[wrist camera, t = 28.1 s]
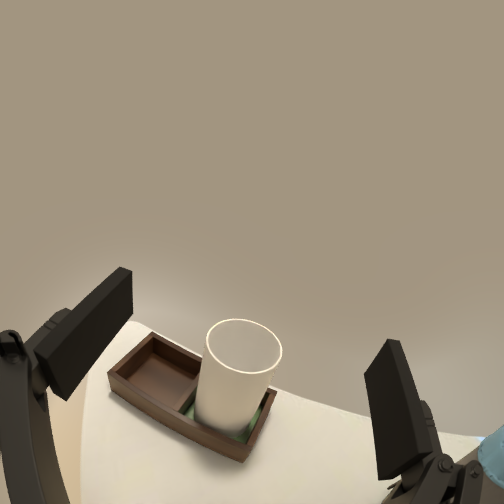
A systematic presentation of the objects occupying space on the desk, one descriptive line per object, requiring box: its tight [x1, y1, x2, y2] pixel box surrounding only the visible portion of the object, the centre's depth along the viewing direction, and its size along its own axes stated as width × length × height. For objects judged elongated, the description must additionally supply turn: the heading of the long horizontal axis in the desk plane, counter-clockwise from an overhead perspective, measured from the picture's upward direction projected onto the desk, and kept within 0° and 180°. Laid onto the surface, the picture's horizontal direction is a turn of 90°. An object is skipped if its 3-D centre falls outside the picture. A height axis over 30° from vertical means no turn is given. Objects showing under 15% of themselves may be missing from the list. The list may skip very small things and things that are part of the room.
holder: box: [107, 332, 277, 463], centre depth 35 cm, size 11×22×5 cm, turn 70°
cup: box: [194, 319, 282, 438], centre depth 31 cm, size 8×8×16 cm
